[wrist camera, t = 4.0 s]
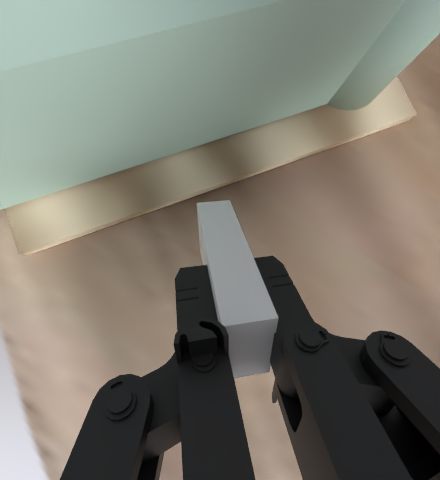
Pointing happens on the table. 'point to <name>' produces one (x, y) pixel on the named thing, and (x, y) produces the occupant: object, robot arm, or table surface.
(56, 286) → the table surface
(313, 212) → the table surface
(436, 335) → the table surface
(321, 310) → the table surface
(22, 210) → the pintle board
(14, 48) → the link
